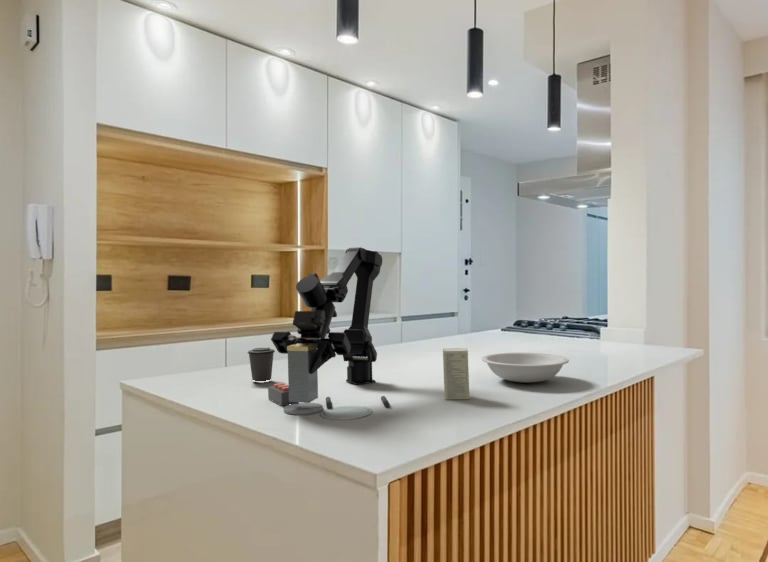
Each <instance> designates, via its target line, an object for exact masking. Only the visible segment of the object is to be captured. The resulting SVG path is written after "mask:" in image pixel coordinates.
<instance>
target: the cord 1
mask: <svg viewBox="0 0 768 562" xmlns="http://www.w3.org/2000/svg"><path fill="white" fill-rule="evenodd" d="M325 404H326V408H327V409H331V408H332V399H331V397H330V396H326V398H325Z"/></svg>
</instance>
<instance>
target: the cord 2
mask: <svg viewBox="0 0 768 562" xmlns="http://www.w3.org/2000/svg"><path fill="white" fill-rule="evenodd" d="M380 400H381V402H382V404H383V406H384V407H385V408H390V407H391V404H390V402H389V400H388V398H387V397H386V396H385V395H382V396H381V397H380Z"/></svg>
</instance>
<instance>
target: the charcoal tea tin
mask: <svg viewBox="0 0 768 562" xmlns="http://www.w3.org/2000/svg"><path fill="white" fill-rule="evenodd" d="M287 351H288V354H287V371H288V373H287V375H288V377H287V378H288V383H287V385H289V402H299V403H312V402H314V401H315V400H316V399H319V389H318V388H319V386H318V385H319V382H318V381H319V380H318V379H319V376H318V369H317V370H316V371H315V372H314V373H313V374H311V373H310V368H311V365H312V362H313V359H314V357H315V354H316V351H317V344H307V343H297V344H293V345H290V346H287Z"/></svg>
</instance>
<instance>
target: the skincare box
mask: <svg viewBox="0 0 768 562" xmlns="http://www.w3.org/2000/svg"><path fill="white" fill-rule="evenodd" d="M442 359H443V360H442V361H443V362H442V363H443V387H444V394H443V395H444V400H470V378H469V377H470V375H469V373H470V372H469V350H468V347H463V348H460V347H459V348H458V347H457V348H456V347H455V348H442Z"/></svg>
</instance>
